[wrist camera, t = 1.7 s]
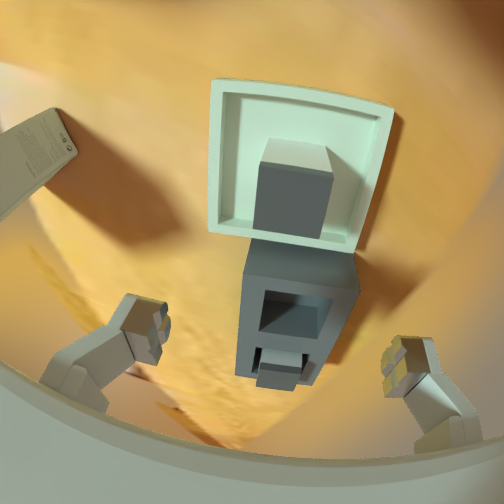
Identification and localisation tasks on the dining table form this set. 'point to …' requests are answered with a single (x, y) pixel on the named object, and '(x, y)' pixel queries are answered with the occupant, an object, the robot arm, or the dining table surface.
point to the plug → (293, 188)
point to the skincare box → (31, 157)
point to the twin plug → (279, 369)
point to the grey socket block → (293, 304)
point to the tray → (299, 129)
